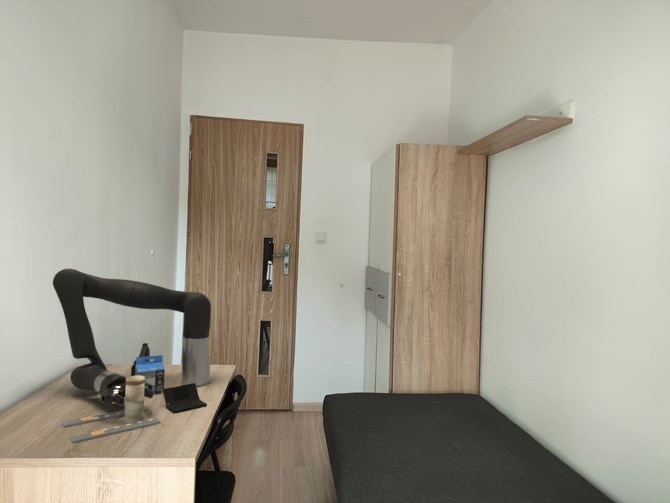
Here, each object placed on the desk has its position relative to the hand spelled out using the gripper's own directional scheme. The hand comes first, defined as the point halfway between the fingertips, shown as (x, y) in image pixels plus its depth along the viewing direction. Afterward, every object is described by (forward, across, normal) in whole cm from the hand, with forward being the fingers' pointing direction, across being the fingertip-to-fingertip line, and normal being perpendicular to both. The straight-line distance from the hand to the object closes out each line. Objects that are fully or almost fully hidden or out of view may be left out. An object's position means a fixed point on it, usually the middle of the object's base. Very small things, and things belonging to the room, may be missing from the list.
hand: (137, 398), depth 129 cm
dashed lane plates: (-3, -6, +6) cm, 9 cm away
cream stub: (-2, 0, +6) cm, 7 cm away
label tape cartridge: (-20, +14, +7) cm, 25 cm away
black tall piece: (-37, +20, +7) cm, 42 cm away
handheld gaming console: (-1, +16, +7) cm, 18 cm away
